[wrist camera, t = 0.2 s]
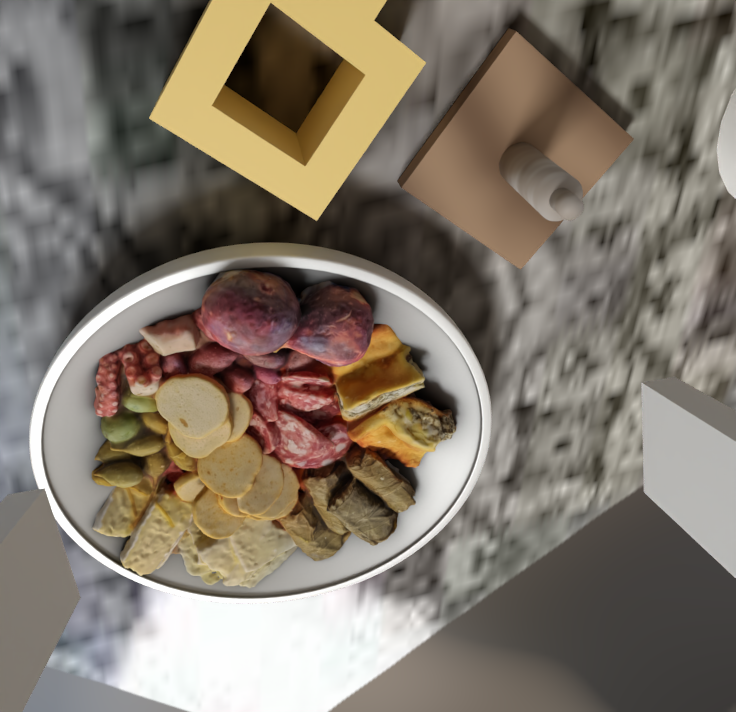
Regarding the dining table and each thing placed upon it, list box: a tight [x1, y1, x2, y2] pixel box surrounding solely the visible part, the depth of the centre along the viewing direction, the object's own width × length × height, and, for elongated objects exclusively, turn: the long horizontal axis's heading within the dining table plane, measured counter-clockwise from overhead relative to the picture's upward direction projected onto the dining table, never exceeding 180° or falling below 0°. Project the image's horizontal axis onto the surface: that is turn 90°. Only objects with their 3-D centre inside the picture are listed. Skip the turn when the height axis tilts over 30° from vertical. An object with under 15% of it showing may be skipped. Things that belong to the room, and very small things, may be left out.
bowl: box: [29, 242, 492, 604], centre depth 44 cm, size 30×30×8 cm
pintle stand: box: [398, 28, 633, 270], centre depth 35 cm, size 10×10×9 cm
